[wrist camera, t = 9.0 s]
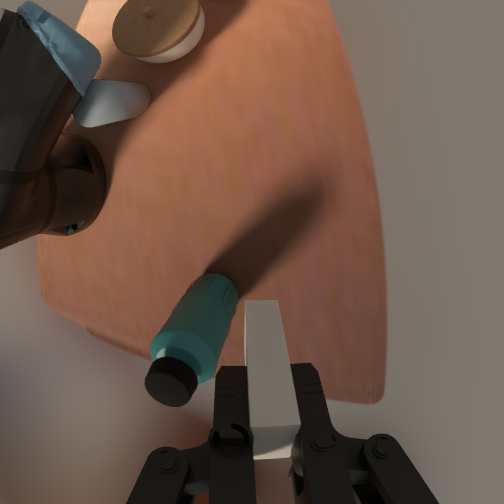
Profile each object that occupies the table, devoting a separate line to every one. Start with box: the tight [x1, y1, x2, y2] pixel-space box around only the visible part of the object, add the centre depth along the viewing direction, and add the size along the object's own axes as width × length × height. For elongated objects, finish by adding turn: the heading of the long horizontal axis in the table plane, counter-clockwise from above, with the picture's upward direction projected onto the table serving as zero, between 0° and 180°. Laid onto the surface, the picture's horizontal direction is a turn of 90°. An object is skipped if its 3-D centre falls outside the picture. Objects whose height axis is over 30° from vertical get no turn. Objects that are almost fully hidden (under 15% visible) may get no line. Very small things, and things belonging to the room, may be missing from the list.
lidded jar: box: [112, 0, 205, 63], centre depth 26 cm, size 11×11×9 cm
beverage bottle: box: [145, 273, 239, 407], centre depth 29 cm, size 6×7×20 cm
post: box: [72, 79, 150, 127], centre depth 28 cm, size 5×5×12 cm
